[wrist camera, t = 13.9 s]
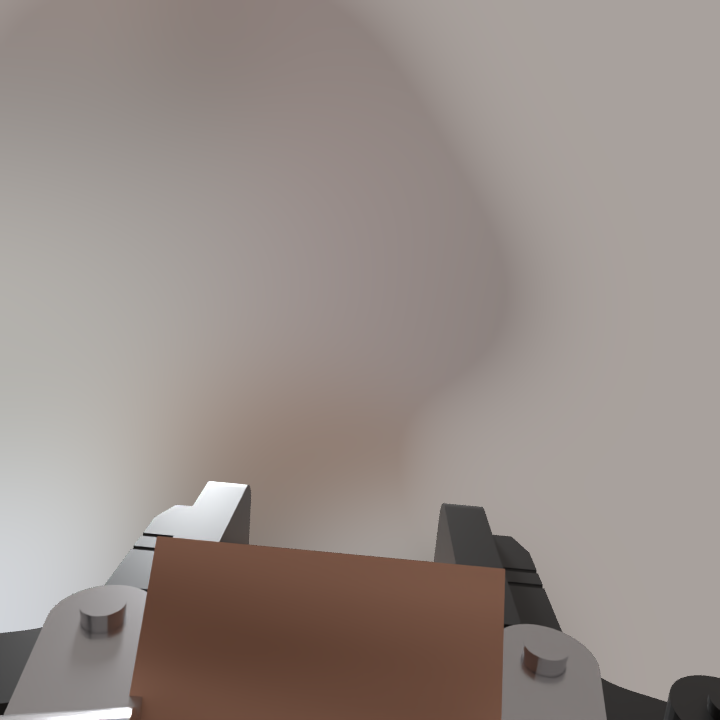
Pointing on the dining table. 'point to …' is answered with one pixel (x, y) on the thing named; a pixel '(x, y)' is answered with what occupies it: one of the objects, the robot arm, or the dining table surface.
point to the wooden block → (316, 636)
